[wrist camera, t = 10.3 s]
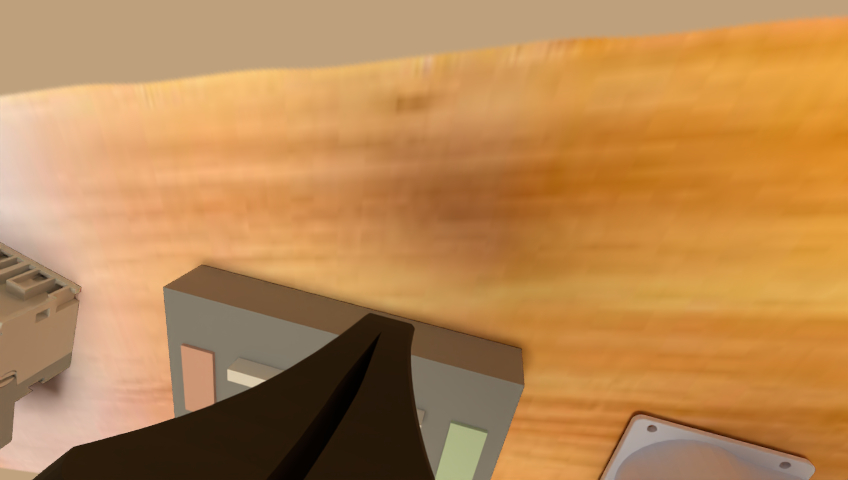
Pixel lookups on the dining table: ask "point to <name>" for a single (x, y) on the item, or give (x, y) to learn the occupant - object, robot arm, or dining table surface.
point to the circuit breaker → (31, 329)
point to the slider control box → (314, 328)
